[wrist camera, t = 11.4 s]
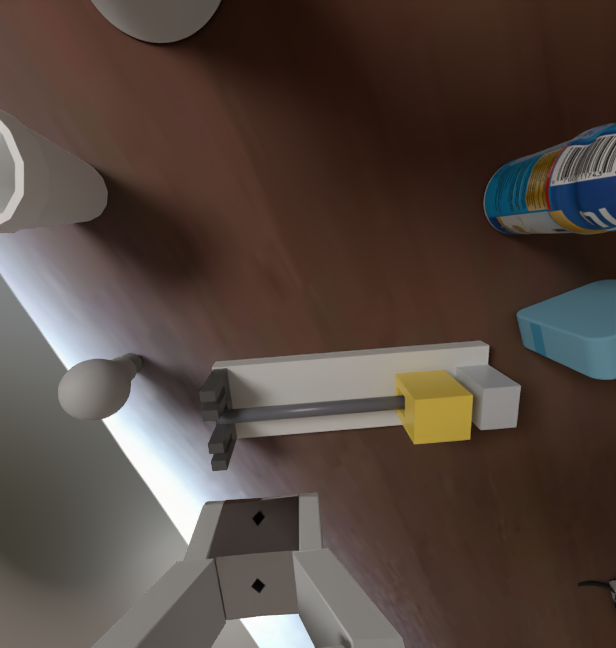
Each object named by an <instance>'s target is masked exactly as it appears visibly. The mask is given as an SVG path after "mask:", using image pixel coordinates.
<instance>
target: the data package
mask: <svg viewBox="0 0 616 648" xmlns="http://www.w3.org/2000/svg"><path fill="white" fill-rule="evenodd" d="M517 320H518V324H519V329H520V333H521V337H522V342H523V345H524V346H525V347H526V348H528V349H530V350H532V351H535V352H537V353H539V354H541V355H543V356H545V357H548V358H550V359H552V360H554V361H556V362H558V363H561V364H563V365H565V366H567V367H569V368H571V369H574V370H576V371H578V372H580V373H582V374H584V375H586V376H589V377H591V378H595V379H601V380H611V379H616V280H601V281H596V282H593V283H590V284H587V285H585V286H582V287H579V288H577V289H574V290H571V291H569V292H566V293H564V294H561V295H558V296H556V297H553V298H550V299H548V300H545V301H543V302H540V303H537V304H535V305H532V306H529V307H527V308H524V309H522V310H520V311H519V312H518V313H517Z"/></svg>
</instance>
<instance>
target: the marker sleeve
mask: <svg viewBox="0 0 616 648" xmlns="http://www.w3.org/2000/svg"><path fill="white" fill-rule="evenodd" d="M397 395H404V397H405V409H400V410H395V412H396V414H397V416H398V417H399V419H400V421H401V423H402V424H403V426H404V428H405V430H406V431H407V433H408V435H409V436H410V438H411V440H412V442H413V443H414V444H424V443H436V442H448V441H460V440H470V434H471V420H472V405H473V395H472V394H471V393H470V392H469V391H468V390H467V389H466V388H464V387H463V386H462V385H461V384H460V383H459V382H457V381H456V380H455V379H454V378H453V377H452V376H451V375H449V374H448V373H447V372H446V371H445V370H435V371H422V372H410V373H398V374H395V396H397Z"/></svg>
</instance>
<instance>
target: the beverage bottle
mask: <svg viewBox="0 0 616 648" xmlns="http://www.w3.org/2000/svg"><path fill="white" fill-rule="evenodd" d="M483 204H484V212H485V215H486V217H487V219H488V221H489V223H490V224H491V225H492V226H493V227H494V228H495V229H497V230H498V231H500V232H502V233H505V234H510V235H521V234H545V233H577V234H598V233H604V232H608V231H613V232H616V123H610V124H605V125H601V126H598V127H595V128H592V129H590V130H587V131H585V132H583V133H581V134H580V135H578V136H576V137H575V138H574V139H572V140H569V141H567V142H564V143H562V144H559V145H556V146H554V147H551V148H548V149H546V150H543V151H540V152H538V153H535V154H532V155H529V156H525V157H521V158H518V159H515V160H513V161H510V162H508V163H507V164H505V165H504V166H502V167H501V168H500V169H499V170H498V171H497V172H496V173H495V174H494V175H493V176H492V178H491V179H490V181H489V183H488V185H487V187H486V190H485V194H484V202H483Z"/></svg>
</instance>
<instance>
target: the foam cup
mask: <svg viewBox="0 0 616 648" xmlns="http://www.w3.org/2000/svg"><path fill="white" fill-rule="evenodd" d="M107 196H108V191H107V188H106V185H105V183H104V180H103V178H102V176H101V175H100V174H99V173H98V172H97V171H96V170H95V169H94V168H93V167H92V166H90V165H89V164H88V163H86V162H84V161H83V160H81V159H79V158H78V157H76V156H74V155H73V154H71V153H69V152H68V151H66V150H64V149H63V148H61V147H59V146H58V145H56V144H55V143H53V142H51V141H50V140H48V139H46V138H45V137H43V136H41V135H40V134H38V133H36V132H35V131H33V130H31V129H30V128H28V127H26V126H25V125H23V124H21V123H20V122H19V121H18V120H17V119H16V118H15V117H14V116H13V115H11V114H9V113H7V112H5V111H3V110H1V109H0V233H15V232H16V231H18V230H20V229H28V228H36V227H45V226H53V225H62V224H70V223H78V222H87V221H91V220H93V219H94V218H96V217H98V216H100V215H101V214H102V212H103V210H104V209H105V207H106V205H107Z"/></svg>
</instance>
